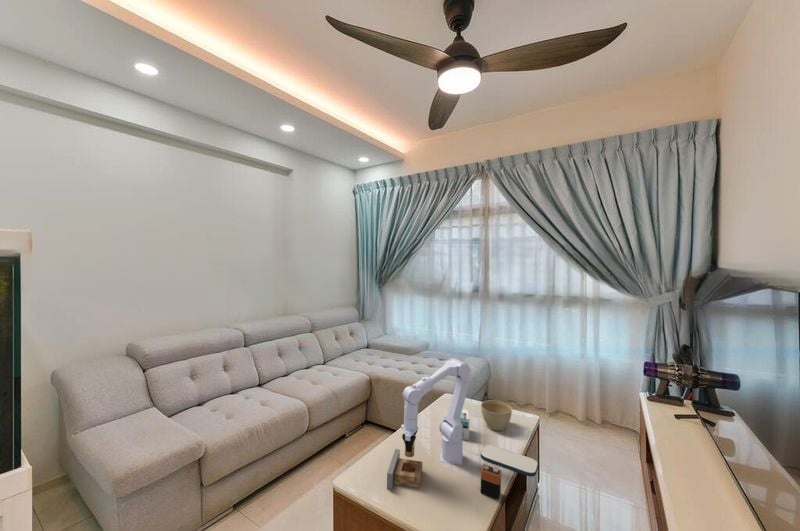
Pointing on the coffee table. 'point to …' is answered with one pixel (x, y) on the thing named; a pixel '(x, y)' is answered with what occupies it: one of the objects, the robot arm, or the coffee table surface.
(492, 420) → the planter bowl
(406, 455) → the oak dowel
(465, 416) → the light bulb box
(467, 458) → the coffee table surface
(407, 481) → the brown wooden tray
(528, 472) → the white teal rounded slab
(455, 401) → the robot arm
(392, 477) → the slate stop wall
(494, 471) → the battery
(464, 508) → the coffee table surface
